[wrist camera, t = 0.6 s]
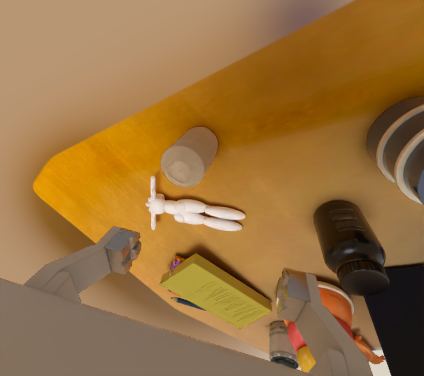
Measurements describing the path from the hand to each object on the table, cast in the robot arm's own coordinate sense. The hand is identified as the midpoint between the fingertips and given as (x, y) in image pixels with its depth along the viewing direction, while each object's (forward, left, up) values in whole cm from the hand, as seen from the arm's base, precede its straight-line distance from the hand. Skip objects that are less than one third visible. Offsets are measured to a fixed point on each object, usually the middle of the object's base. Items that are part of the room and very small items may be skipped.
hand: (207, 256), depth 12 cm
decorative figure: (+15, -6, -23) cm, 28 cm away
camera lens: (+46, +18, -23) cm, 54 cm away
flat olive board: (+28, -9, -18) cm, 35 cm away
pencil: (+46, +3, -22) cm, 52 cm away
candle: (+3, -6, -23) cm, 24 cm away
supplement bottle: (+11, +17, -23) cm, 30 cm away
